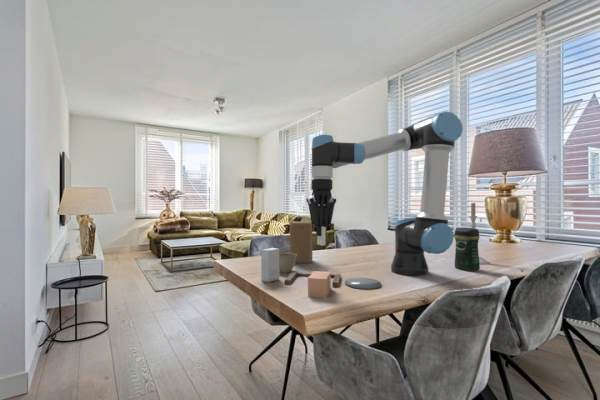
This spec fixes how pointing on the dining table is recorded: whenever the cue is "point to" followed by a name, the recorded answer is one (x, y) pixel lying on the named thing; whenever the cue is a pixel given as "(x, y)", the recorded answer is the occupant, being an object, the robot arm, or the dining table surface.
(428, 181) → the robot arm
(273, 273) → the skincare box
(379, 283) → the plate
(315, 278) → the block
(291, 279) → the rack
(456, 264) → the coffee jar
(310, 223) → the wooden block
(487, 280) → the dining table surface
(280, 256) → the flower pot
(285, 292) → the dining table surface
